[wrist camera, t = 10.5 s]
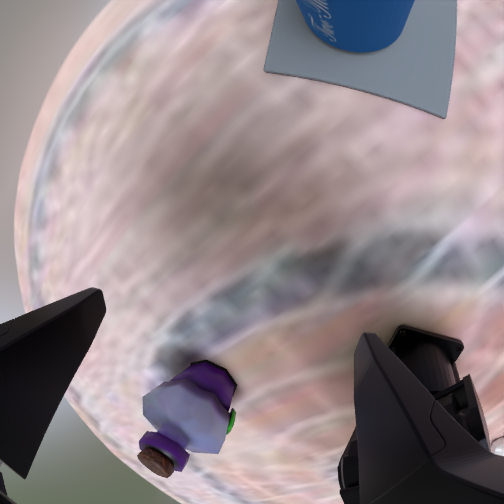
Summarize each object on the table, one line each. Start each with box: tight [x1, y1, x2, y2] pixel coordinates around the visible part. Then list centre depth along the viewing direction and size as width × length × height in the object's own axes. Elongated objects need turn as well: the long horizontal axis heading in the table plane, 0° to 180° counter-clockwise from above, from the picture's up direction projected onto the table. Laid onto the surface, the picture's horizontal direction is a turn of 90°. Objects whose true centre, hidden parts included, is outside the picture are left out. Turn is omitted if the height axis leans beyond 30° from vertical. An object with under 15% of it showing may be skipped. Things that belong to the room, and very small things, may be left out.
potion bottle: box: [137, 360, 237, 478], centre depth 23 cm, size 9×9×12 cm
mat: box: [264, 0, 457, 119], centre depth 13 cm, size 12×12×1 cm
